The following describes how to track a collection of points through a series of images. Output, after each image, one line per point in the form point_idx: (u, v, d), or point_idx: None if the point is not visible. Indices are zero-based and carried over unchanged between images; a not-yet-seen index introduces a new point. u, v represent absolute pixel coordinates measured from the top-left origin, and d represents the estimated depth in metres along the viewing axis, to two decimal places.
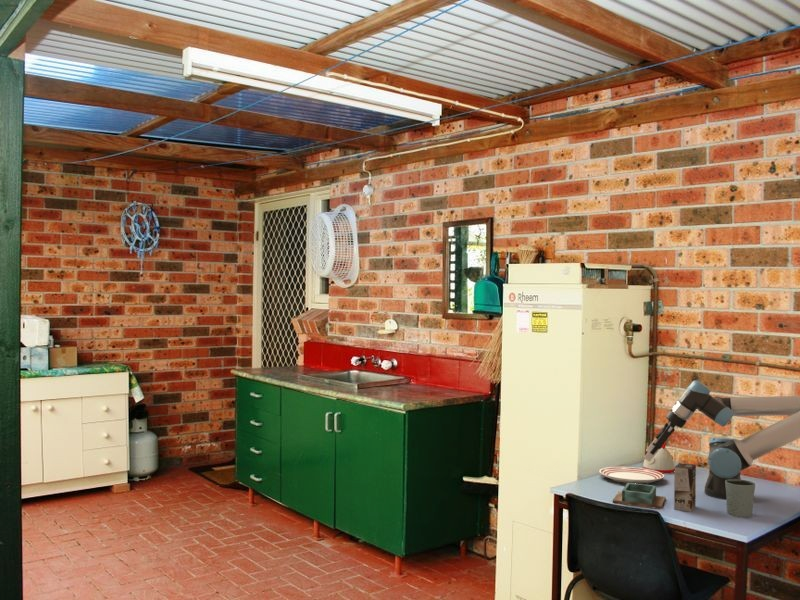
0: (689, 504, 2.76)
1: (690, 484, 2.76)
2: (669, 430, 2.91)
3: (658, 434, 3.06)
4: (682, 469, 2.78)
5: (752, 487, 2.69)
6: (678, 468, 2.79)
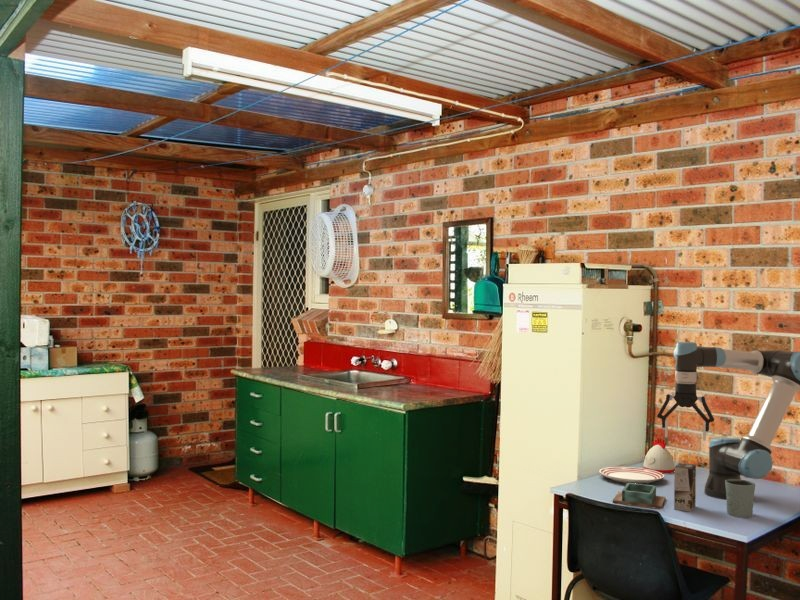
0: (689, 504, 2.76)
1: (690, 484, 2.76)
2: None
3: (666, 414, 2.83)
4: (682, 469, 2.78)
5: (752, 487, 2.69)
6: (678, 468, 2.79)
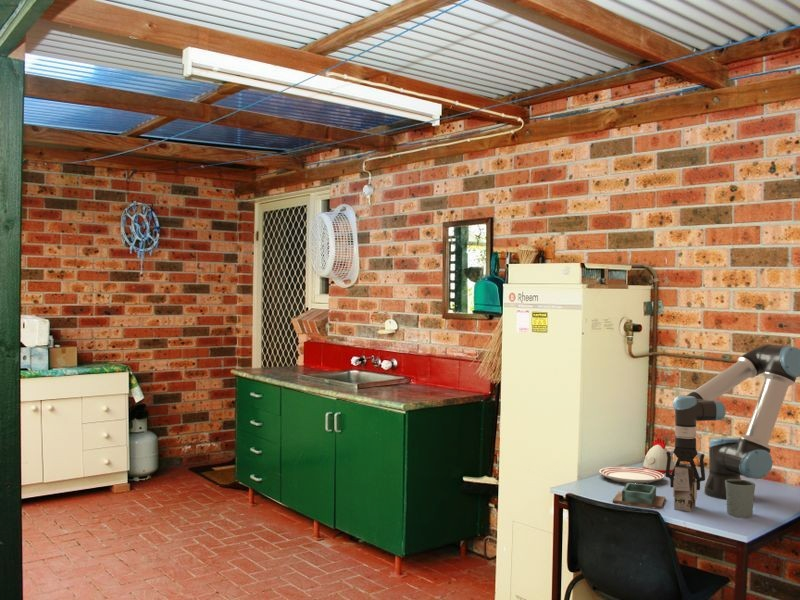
0: (689, 504, 2.76)
1: (690, 484, 2.76)
2: (703, 458, 2.79)
3: (672, 473, 2.82)
4: (682, 469, 2.78)
5: (752, 487, 2.69)
6: (678, 468, 2.79)
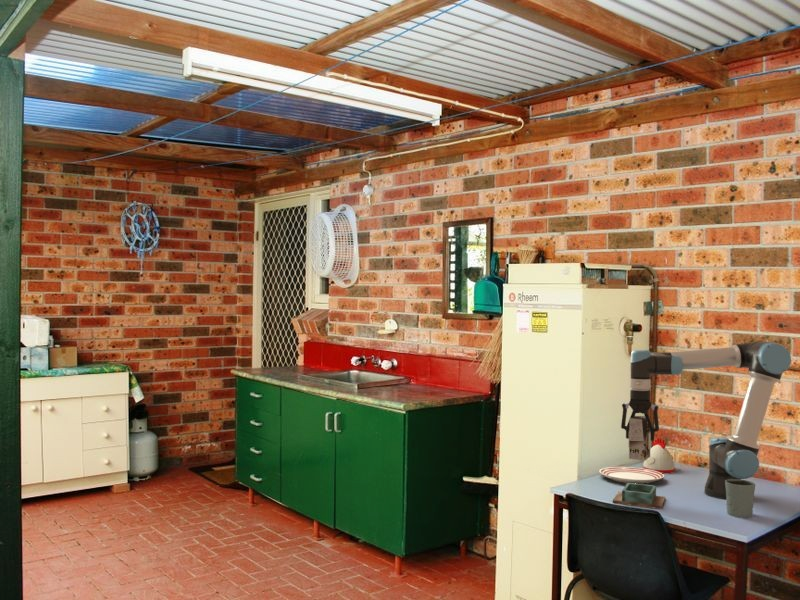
0: (643, 454, 2.85)
1: (644, 434, 2.85)
2: (657, 409, 2.88)
3: (628, 425, 2.91)
4: (636, 420, 2.87)
5: (752, 487, 2.69)
6: (633, 419, 2.88)
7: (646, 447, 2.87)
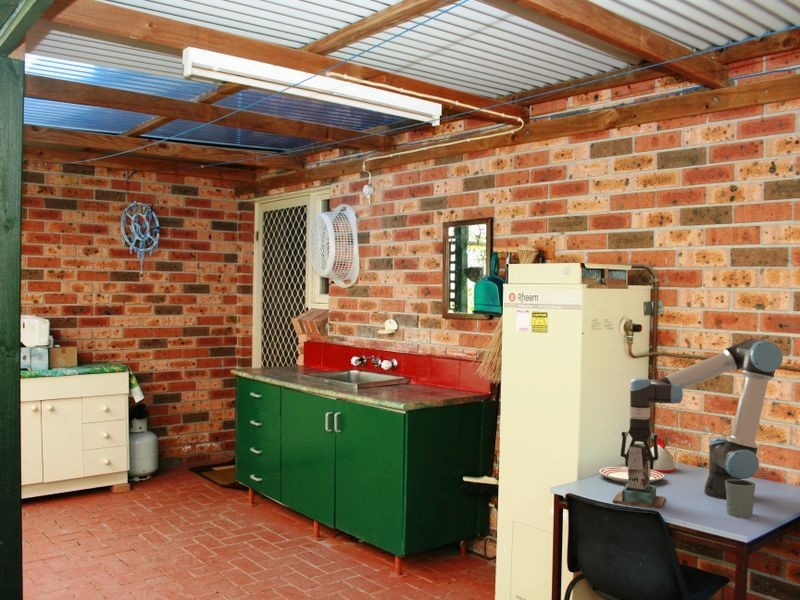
0: (642, 482, 2.85)
1: (643, 463, 2.85)
2: (656, 438, 2.88)
3: (627, 453, 2.91)
4: (636, 448, 2.87)
5: (752, 487, 2.69)
6: (632, 448, 2.88)
7: (645, 476, 2.87)
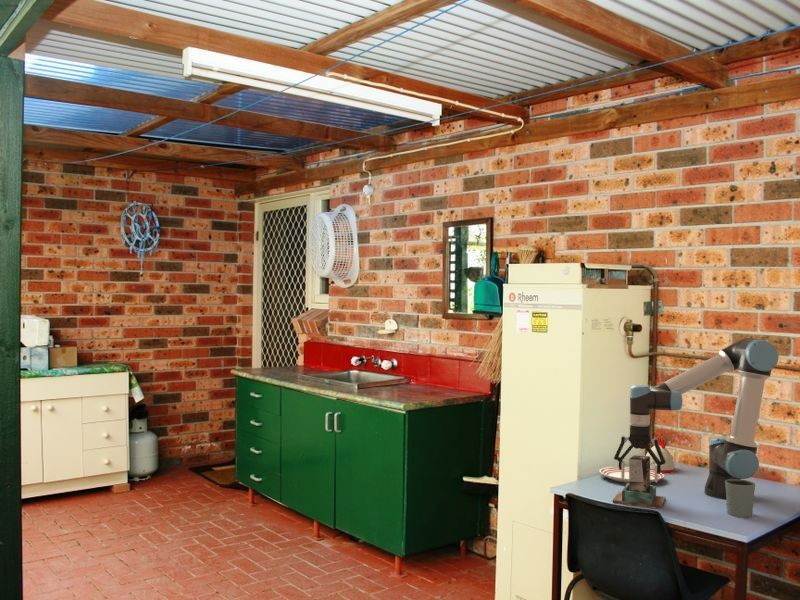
0: None
1: (644, 475, 2.86)
2: (657, 442, 2.88)
3: (622, 456, 2.92)
4: (636, 461, 2.87)
5: (752, 487, 2.69)
6: (632, 460, 2.88)
7: (646, 488, 2.87)
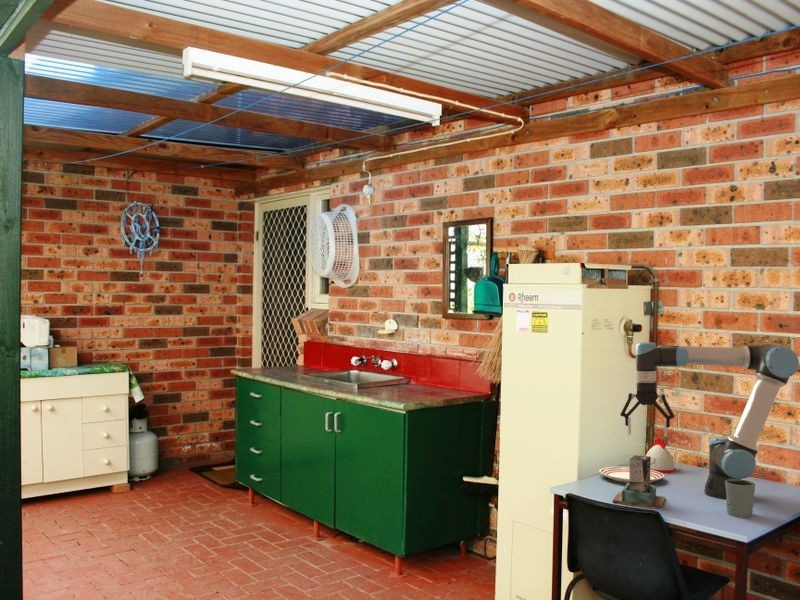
0: None
1: (644, 475, 2.85)
2: (665, 397, 2.90)
3: (628, 413, 2.94)
4: (637, 461, 2.87)
5: (752, 487, 2.69)
6: (633, 460, 2.88)
7: (646, 488, 2.87)
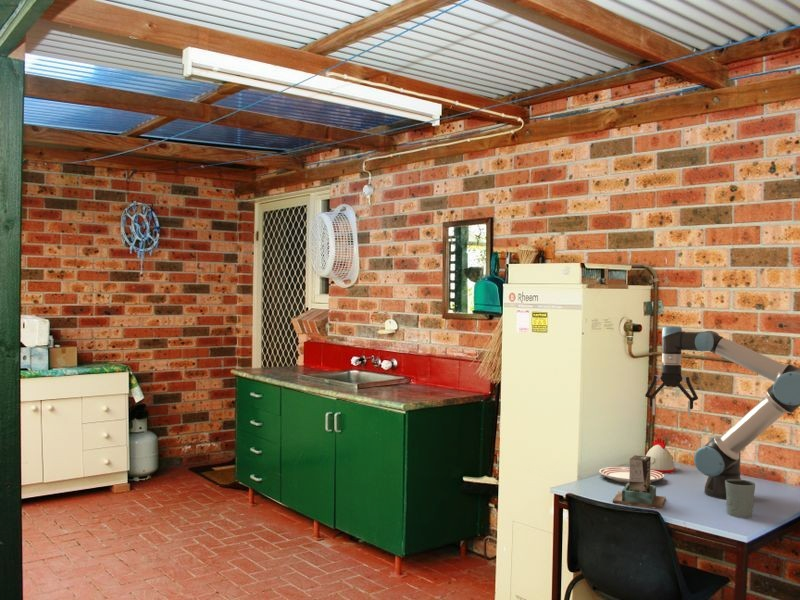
0: None
1: (644, 475, 2.85)
2: None
3: (653, 394, 3.04)
4: (637, 461, 2.87)
5: (752, 487, 2.69)
6: (633, 460, 2.88)
7: (646, 488, 2.87)
